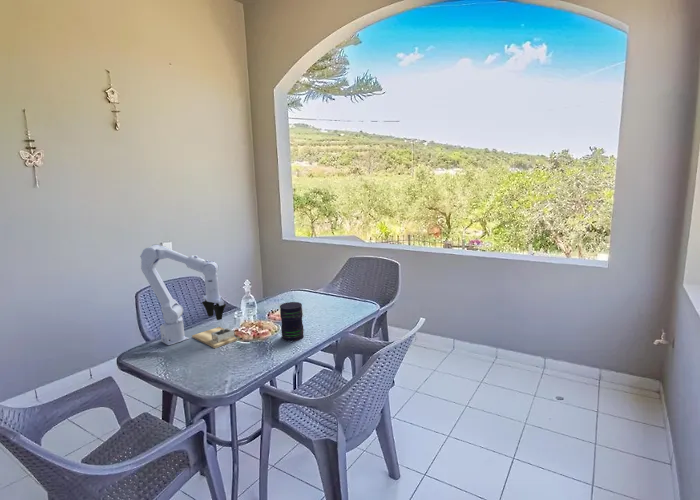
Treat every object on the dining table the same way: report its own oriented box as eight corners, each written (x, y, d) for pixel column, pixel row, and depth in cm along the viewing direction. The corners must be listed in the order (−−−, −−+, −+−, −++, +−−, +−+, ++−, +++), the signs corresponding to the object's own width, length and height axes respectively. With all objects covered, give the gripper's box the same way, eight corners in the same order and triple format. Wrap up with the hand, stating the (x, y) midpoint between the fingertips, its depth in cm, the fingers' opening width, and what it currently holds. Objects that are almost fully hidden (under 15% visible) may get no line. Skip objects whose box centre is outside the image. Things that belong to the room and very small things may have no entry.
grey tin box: (218, 342, 189) (217, 336, 189) (211, 339, 193) (211, 333, 192) (234, 337, 195) (233, 330, 194) (227, 334, 199) (227, 328, 198)
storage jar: (277, 338, 194) (274, 306, 191) (291, 331, 202) (289, 300, 199) (294, 343, 188) (292, 310, 185) (308, 335, 196) (306, 303, 193)
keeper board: (214, 348, 186) (213, 337, 185) (192, 337, 199) (191, 327, 198) (242, 338, 196) (242, 327, 195) (219, 328, 209) (218, 318, 208)
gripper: (228, 289, 192) (231, 318, 194) (212, 284, 202) (214, 312, 204) (214, 293, 187) (217, 323, 189) (198, 287, 197) (200, 316, 199)
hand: (215, 317), depth 197 cm, fingers open, 7 cm apart
